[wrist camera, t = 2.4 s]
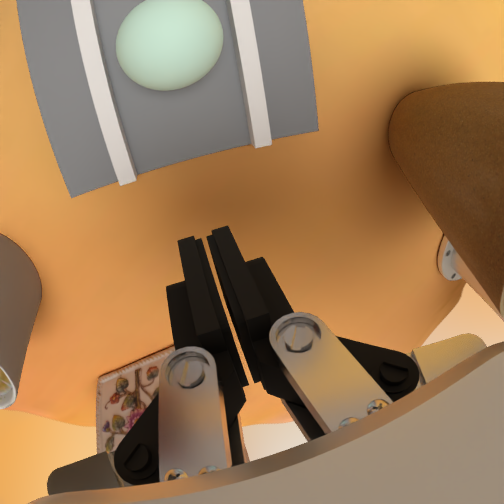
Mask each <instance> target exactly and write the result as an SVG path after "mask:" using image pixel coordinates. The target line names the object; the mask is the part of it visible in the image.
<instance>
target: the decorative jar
mask: <svg viewBox="0 0 504 504" xmlns="http://www.w3.org/2000/svg"><path fill="white" fill-rule="evenodd" d="M174 351H175V346H172V347H170V348H168V349H166V350H163V351H161V352H158V353H155V354H153V355H151V356H148V357H146V358H144V359H141V360H139V361H137V362H134V363H132V364H130V365H128V366H126V367H123V368H121V369H119V370H116V371H113V372H111V373H109V374H106V375H103V376H101V377H100V378H99V379H98V383H97V398H96V433H97V454H99V453H102V452H104V451H108V452H109V453H110V452H112V451H115V450H116V448H117V447H118V445H119V443H120V442H121V441H122V439H123V438H124V437H125V436H126V434H127V433H128V432H129V430H130V429H131V428H132V426H133V425H134V424H135V423H136V421H137V420H138V419H139V417H140V416H141V415H142V413H143V412H144V411H145V410H146V408H147V407H148V406H149V404H150V403H151V402H152V400H153V399H154V398H155V396H156V395H157V394H158V392H159V373H160V369H161V365H162V364H163V362H164V360H165V359H166V358H167V357H168V356H169V355H170V354H171V353H173V352H174ZM244 445H245V444H244ZM245 451H246V457H247V463H248V462H250V461H249V457H248V453H247V450H246V447H245Z"/></svg>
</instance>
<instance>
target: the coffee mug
mask: <svg viewBox="0 0 504 504" xmlns="http://www.w3.org/2000/svg"><path fill="white" fill-rule="evenodd" d="M41 297H42V287H41V281H40V278H39V275H38V272H37V270H36V268H35V266H34V264H33V263H32V261H31V260H30V259H29V257H28V256H27V254H26V253H25V252H24V251H23V250H22V249H21V248H20V247H19V246H18V245H17V244H16V243H14V242H13V241H12V240H10V239H9V238H7V237H6V236H4V235H2V234H0V409H4V408H7V407H9V406H11V405H12V404H13V403H14V402H15V400H16V397H17V393H18V388H19V382H20V377H21V373H22V368H23V364H24V359H25V355H26V351H27V347H28V343H29V339H30V335H31V332H32V328H33V325H34V321H35V318H36V315H37V311H38V308H39V305H40V302H41Z"/></svg>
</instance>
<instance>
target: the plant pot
mask: <svg viewBox="0 0 504 504" xmlns="http://www.w3.org/2000/svg"><path fill="white" fill-rule="evenodd" d="M388 137H389V145H390V149H391V152H392V155H393V156H394V158H395V160H396V161H397V163H398V165H399V166H400V168H401V170H402V171H403V173H404V175H405V176H406V178H407V179H408V181H409V183H410V184H411V186H412V187H413V189H414V190H415V192H416V193H417V195H418V196H419V198H420V199H421V201H422V202H423V204H424V205H425V207H426V209H427V210H428V211H429V213H430V214H431V216H432V217H433V219H434V220H435V222H436V223H437V225H438V226H439V227H440V229H441V230H442V232H443V233H444V235H445V236H446V238H447V239H448V240H449V242H450V243H451V245H452V246H453V248H454V249H455V250H456V252H457V253H458V254H459V256H460V257H461V259H462V260H463V261H464V263H465V264H466V266H467V267H468V268H469V270H470V271H471V272H472V274H473V275H474V277H475V278H476V279H477V281H478V282H479V284H480V285H481V286H482V288H483V289H484V291H485V292H486V294H487V295H488V297H489V298H490V299H491V301H492V302H493V304H494V305H495V307H496V308H497V310H498V311H499V313H500V314H501V316H502V317H503V318H504V82H470V83H457V84H449V85H443V86H437V87H433V88H428V89H424V90H420V91H417V92H414V93H411V94H409V95H407V96H406V97H404V98H403V99H402V100H401V101H400V103H399V104H398V105H397V107H396V108H395V110H394V112H393V115H392V117H391V120H390V124H389V132H388Z"/></svg>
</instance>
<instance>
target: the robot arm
mask: <svg viewBox="0 0 504 504" xmlns="http://www.w3.org/2000/svg"><path fill="white" fill-rule="evenodd" d="M207 240H208V244H209V248H210V251H211V255H212V258H213V262H214V265H215V268H216V272H217V275H218V279H219V282H220V286H221V289H222V292H223V296H224V299H225V302H226V305H227V308H228V311H229V314H230V317H231V319H232V322H233V325H234V328H235V331H236V334H237V337H238V339H239V342H240V345H241V348H242V351H243V353H244V356H245V359H246V362H247V364H248V367H249V370H250V372H251V375H252V378H253V381H254V383H257V382H260V381H261V383H262V385H263V388H264V390H266V391H267V393H268V394H270V395H273V396H276V397H279V398H281V401H282V403H283V404H284V406H285V408H286V409H287V411H288V412H289V414H290V415H291V417H292V418H293V420H294V421H295V423H296V424H297V426H298V427H299V429H300V430H301V432H302V433H303V435H304V436H305V438H306V439H307V441H308V442H307V443H304V444H301V445H299V446H296V447H293V448H290V449H288V450H285V451H282V452H279V453H276V454H273V455H270V456H267V457H264V458H261V459H258V460H254V461H251V462H248V463H247V457H246V451H245V445H244V438H243V432H242V425H241V418H240V414H239V411H240V410H241V408H242V407H243V405H244V403H245V402H246V398H245V393H244V390H243V387H244V386H248V385H249V383H248V380H247V378H246V375H245V372H244V369H243V366H242V363H241V360H240V357H239V354H238V351H237V348H236V345H235V342H234V339H233V335H232V332H231V329H230V326H229V323H228V320H227V317H226V314H225V311H224V308H223V305H222V302H221V299H220V296H219V293H218V290H217V287H216V284H215V280H214V277H213V274H212V271H211V268H210V265H209V261H208V258H207V255H206V252H205V249H204V245H203V242H202V239H201V238H200V239H197V240H195V238H194V236H191V237H188V238H185V239H181V240H178V246H179V251H180V257H181V262H182V267H183V272H184V277H185V281H182V282H179V283H176V284H172V285H169V286H167V287H166V292H167V300H168V307H169V314H170V321H171V327H172V334H173V340H174V346H175V351H174V352H173V353H171V354H170V355H169V356H168V357H167V358H166V359H165V360H164V362H163V364H162V365H161V369H160V373H159V392H158V394H157V395H156V396H155V398H154V399H153V400H152V402H151V403H150V404H149V406H148V407H147V408H146V410H145V411H144V412H143V413H142V415H141V416H140V417H139V419H138V420H137V421H136V423H135V424H134V425H133V426H132V428H131V429H130V430H129V432H128V433H127V434H126V436H125V437H124V438H123V439H122V441H121V442H120V443H119V445H118V447H117V448H116V450H115V451H112V452H110V453H109V452H108V451H104V452H102V453H99V454H96V455H94V456H91V457H88V458H86V459H83V460H80V461H77V462H75V463H72V464H69V465H66V466H63V467H60V468H57V469H56V470H54V471H53V472H52V473H51V474H50V476H49V478H48V482H47V489H48V494H49V496H45V497H42V498H39V499H36V500H34V501H32V502H30V503H28V504H504V342H501V343H497V344H494V345H492V346H489V347H487V346H486V344H485V343H484V342H483V340H482V339H481V338H479V337H478V336H476V335H474V334H469V333H468V334H461V335H459V336H455V337H452V338H449V339H446V340H443V341H440V342H436V343H433V344H430V345H426V346H422V347H419V348H415V349H413V350H412V352H411V353H408V354H404V353H401V352H399V351H394V350H390V349H386V348H382V347H377V346H373V345H369V344H365V343H361V342H357V341H353V340H349V339H345V338H341V337H338V336H335V335H334V334H333V333H332V332H331V330H330V329H329V328H328V327H327V326H326V325H325V324H324V322H323V321H322V320H320V319H319V318H318V317H317V316H314V315H312V314H309V313H303V312H298V313H294V311H293V309H292V308H291V306H290V304H289V302H288V300H287V299H286V297H285V295H284V293H283V291H282V290H281V288H280V286H279V284H278V282H277V281H276V279H275V277H274V275H273V273H272V272H271V270H270V268H269V266H268V264H267V263H266V261H265V259H264V258H263V257H260V258H257V259H254V260H250V261H247V262H245V261H244V259H243V257H242V255H241V252H240V250H239V248H238V246H237V244H236V242H235V240H234V237H233V235H232V233H231V231H230V229H229V227H228V226H225V227H221V228H218V229H214V230H212V235H210V236H207ZM438 268H439V271H440V273H441V274H442V275H443V276H444V277H445V278H446V279H447V280H450V281H453V280H459V279H461V278H463V279H464V280H465V281H466V282H467V283H468V284H469V285H470V286H471V287H472V288H473V289H474V290H475V291H476V292H477V293H478V294H479V295H480V296H481V297H482V299H483V300H484V301H485V302H486V303H487V304H488V305H489V306H490V307H491V308H492V309H493V310H494V311H495V312H496V313H497V314H498V316H499V317H500V318H501V319H502V320H503V321H504V318H503V317H502V316H501V314H500V313H499V311H498V310H497V308H496V307H495V305H494V304H493V302H492V301H491V299H490V298H489V297H488V295H487V294H486V292H485V291H484V289H483V288H482V286H481V285H480V284H479V282H478V281H477V279H476V278H475V277H474V275H473V274H472V272H471V271H470V270H469V268H468V267H467V266H466V264H465V263H464V261H463V260H462V259H461V257H460V256H459V254H458V253H457V252H456V250H455V249H454V248H453V246H452V245H451V243H450V242H449V240H448V239H447V238H446V236H445V235H444V237H443V240H442V243H441V246H440V249H439V254H438Z"/></svg>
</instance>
